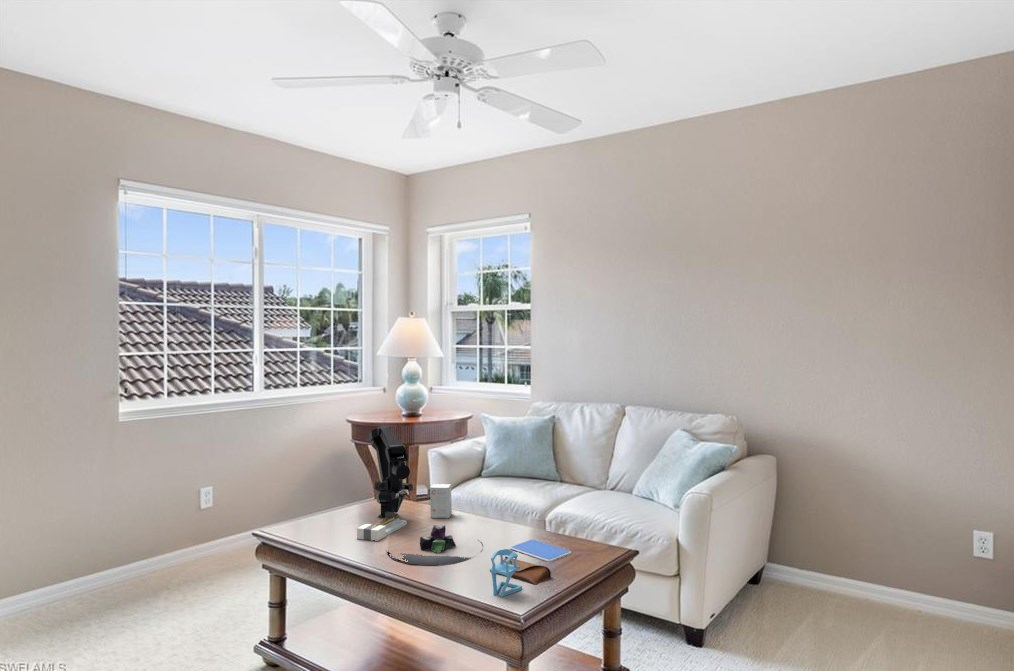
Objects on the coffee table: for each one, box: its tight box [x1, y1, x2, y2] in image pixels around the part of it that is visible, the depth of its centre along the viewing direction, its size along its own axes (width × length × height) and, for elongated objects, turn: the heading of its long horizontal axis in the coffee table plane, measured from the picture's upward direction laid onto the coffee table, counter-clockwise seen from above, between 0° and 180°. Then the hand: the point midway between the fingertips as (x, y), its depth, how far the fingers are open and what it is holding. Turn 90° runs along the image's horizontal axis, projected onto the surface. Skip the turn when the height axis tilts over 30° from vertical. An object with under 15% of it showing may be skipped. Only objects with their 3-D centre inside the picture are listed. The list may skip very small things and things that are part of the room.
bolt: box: [374, 511, 395, 527], centre depth 251 cm, size 10×3×4 cm, turn 160°
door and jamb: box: [356, 517, 408, 542], centre depth 249 cm, size 22×9×4 cm, turn 160°
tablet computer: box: [509, 538, 572, 563], centre depth 224 cm, size 19×13×1 cm, turn 45°
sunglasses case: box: [496, 556, 552, 586], centre depth 202 cm, size 18×7×7 cm
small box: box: [429, 483, 453, 519], centre depth 270 cm, size 8×6×13 cm
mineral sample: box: [386, 524, 484, 566], centre depth 228 cm, size 35×35×9 cm
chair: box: [489, 548, 523, 598], centre depth 189 cm, size 8×8×12 cm
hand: (396, 512), depth 259 cm, fingers closed
